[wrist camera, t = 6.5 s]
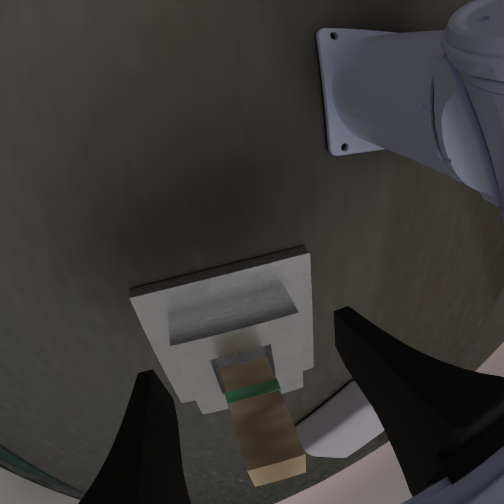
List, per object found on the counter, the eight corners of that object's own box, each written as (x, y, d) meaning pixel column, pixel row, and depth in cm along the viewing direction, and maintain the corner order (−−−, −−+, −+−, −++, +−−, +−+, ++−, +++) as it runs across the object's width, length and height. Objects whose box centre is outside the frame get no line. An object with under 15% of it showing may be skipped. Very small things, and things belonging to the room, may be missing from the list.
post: (267, 355, 20) (307, 452, 14) (272, 383, 22) (307, 472, 15) (218, 368, 19) (245, 470, 13) (228, 395, 21) (253, 487, 15)
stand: (304, 245, 22) (331, 279, 18) (309, 359, 28) (327, 395, 25) (130, 289, 20) (126, 332, 17) (180, 394, 27) (186, 434, 23)
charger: (421, 359, 35) (336, 431, 39) (391, 338, 31) (292, 423, 34) (441, 385, 31) (349, 458, 34) (414, 369, 27) (306, 455, 30)
